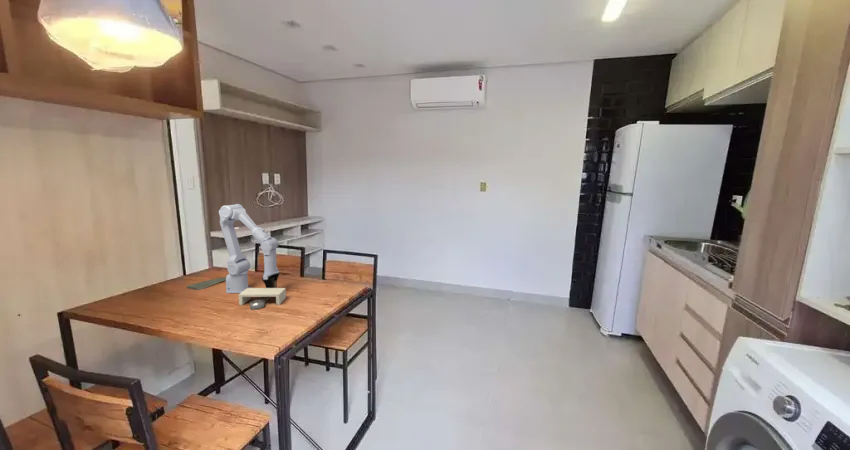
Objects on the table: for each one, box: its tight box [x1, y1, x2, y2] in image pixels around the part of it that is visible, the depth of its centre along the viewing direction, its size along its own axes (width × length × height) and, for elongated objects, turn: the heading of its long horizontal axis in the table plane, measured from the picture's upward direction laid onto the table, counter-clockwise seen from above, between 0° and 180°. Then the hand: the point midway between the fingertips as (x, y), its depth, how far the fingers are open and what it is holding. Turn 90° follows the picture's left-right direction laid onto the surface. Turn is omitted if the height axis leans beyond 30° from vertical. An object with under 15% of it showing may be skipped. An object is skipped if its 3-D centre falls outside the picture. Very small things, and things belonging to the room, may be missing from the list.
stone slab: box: [186, 276, 227, 291], centre depth 188 cm, size 22×3×10 cm
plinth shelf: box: [238, 287, 287, 306], centre depth 163 cm, size 18×9×5 cm, turn 94°
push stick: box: [257, 279, 278, 303], centre depth 168 cm, size 4×17×6 cm, turn 4°
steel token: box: [249, 299, 266, 311], centre depth 157 cm, size 6×6×2 cm
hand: (271, 289), depth 174 cm, fingers open, 5 cm apart
